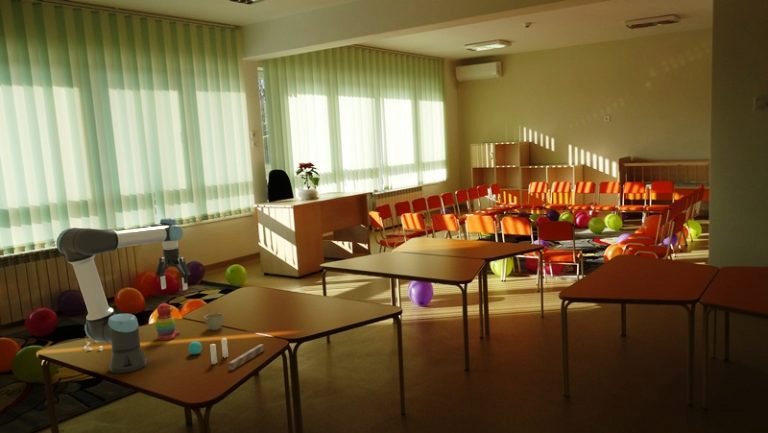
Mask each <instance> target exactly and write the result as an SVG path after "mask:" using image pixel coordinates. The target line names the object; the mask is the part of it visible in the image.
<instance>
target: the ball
mask: <svg viewBox="0 0 768 433" xmlns="http://www.w3.org/2000/svg"><path fill="white" fill-rule="evenodd" d="M187 349H188V352H189V354H192V355H198V354H200V352H201V351H202V349H203V346H202V343H201V342H199V341H196V340H195V341H194V340H193V341H192V342H190V343H189V345H188V348H187Z"/></svg>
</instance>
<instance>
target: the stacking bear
mask: <svg viewBox="0 0 768 433" xmlns="http://www.w3.org/2000/svg"><path fill="white" fill-rule="evenodd" d="M156 311H157V314H158V315H157V317H156V320H155V329H156V332H157V340H161V341H172V340H174V339H176V337H177V336H179V335H180V334H181V333H180V331H179V330H176V321H175V319H174V316H173V314H172V312H173V306H171V305H170V304H169V303H166V302H163V303H161V304H159V305H158V306H157V308H156Z"/></svg>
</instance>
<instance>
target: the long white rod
mask: <svg viewBox="0 0 768 433" xmlns="http://www.w3.org/2000/svg"><path fill="white" fill-rule="evenodd" d="M263 352H265V345H264V344H261V343H260V344H258V345H256V346H255V347H253V348H251V349H250V350H248V351H246V352H245V353H242V354H241V355H239V356H238V357H236V358H235V359H233V360H231V361H229V362H228V363H227V364H228V370H230V371H233V370H235V369H237V368H239V367H240V366H242V365H243V364H245V363H246V362H249V360H252V359H253V358H255V357H257V356H258V355H259V354H261V353H263Z"/></svg>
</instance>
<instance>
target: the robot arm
mask: <svg viewBox="0 0 768 433" xmlns="http://www.w3.org/2000/svg"><path fill="white" fill-rule="evenodd" d="M183 235H184V230H183V228H182V226H180V225H178V224H177V220H176V218H175V217H168V218H160V223H155V224H148V225H147V224H146V225H144V226H141V227H140V228H132V229H130V228H129V229H124V230H123V229H121V230H114V229H113V228H110V229H102V228H101V229H100V228H99V229H98V228H84V227H82V228H80V227H70V228H67V229H64V230H62V231H61V232H60V233H59V235H58V236H57V238H56V243H55V244H56V248H57V250H58V252H60V253H61V254H62V255H64V256H65V259H66V262H67V263H69V264H71V265H72V267H73V270H74V273H75V276H76V279H77V282H78V286H79V289H80V291H81V295H82V297H83V301H84V303H85V306H86V310H87V315H86V317H85V318H86V319H85V320H86V322H85V324H84V331H85V334H86V336H87V337H88V338H89V339H91V340H94V342H96V341H99V342H98V343H100V342H103V343H108V344H110V345H111V357H110V363H109V364H108V365H109V372H110V373H112V374H125V373H132V372H135V371H138V370H140V369H143V368H144V367H146V365H147V364H148V363H147V358H146V356H145V354H144V351H143V350H142V348H141V343H140V342H141V341H140V332H139V331H140V330H139V322H138V319H137V317H136V316H135V315H134V314H132V313H118V314H117V313H115V310H114V308H113V307H112V306H111V307H110V306H109V304H108V300H107V297H106V295H105V294H106V293H105V291H104V288H103V284H102V282H101V278H100V275H99V271H98V269H97V266H96V263H95V259H94V258H95V256H96V255H99V254H104V253H110V252H115V251H116V250H118V249H120V248H127V247H133V246H140V245H148V244H154V243H162V244H161V245H162V248H163V250H162V252H163V254H162V255H163V257H159V261H158V262H159V263H158V266H157V268H156V271H155V275H156V276H158V278H159V283H160V287H161V290H165V289H167V282H166V281H167V280H166V275H165V274H166V272H167V271H168V269H169V267H170V268H171V267H172V268H173V267H174V268H176V269H177V271H178V272H179V273H180V274H181V275H182V276H181V282H182V291H186V290H188V283H189V278H188V277H190V276H191V275H192V273H191V271H190V269H189V267H188V265H187V263H186V260H185V257H184V256H182V257H180V249H179V248H178V247H179V240H181V239H182V238H183Z"/></svg>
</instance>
